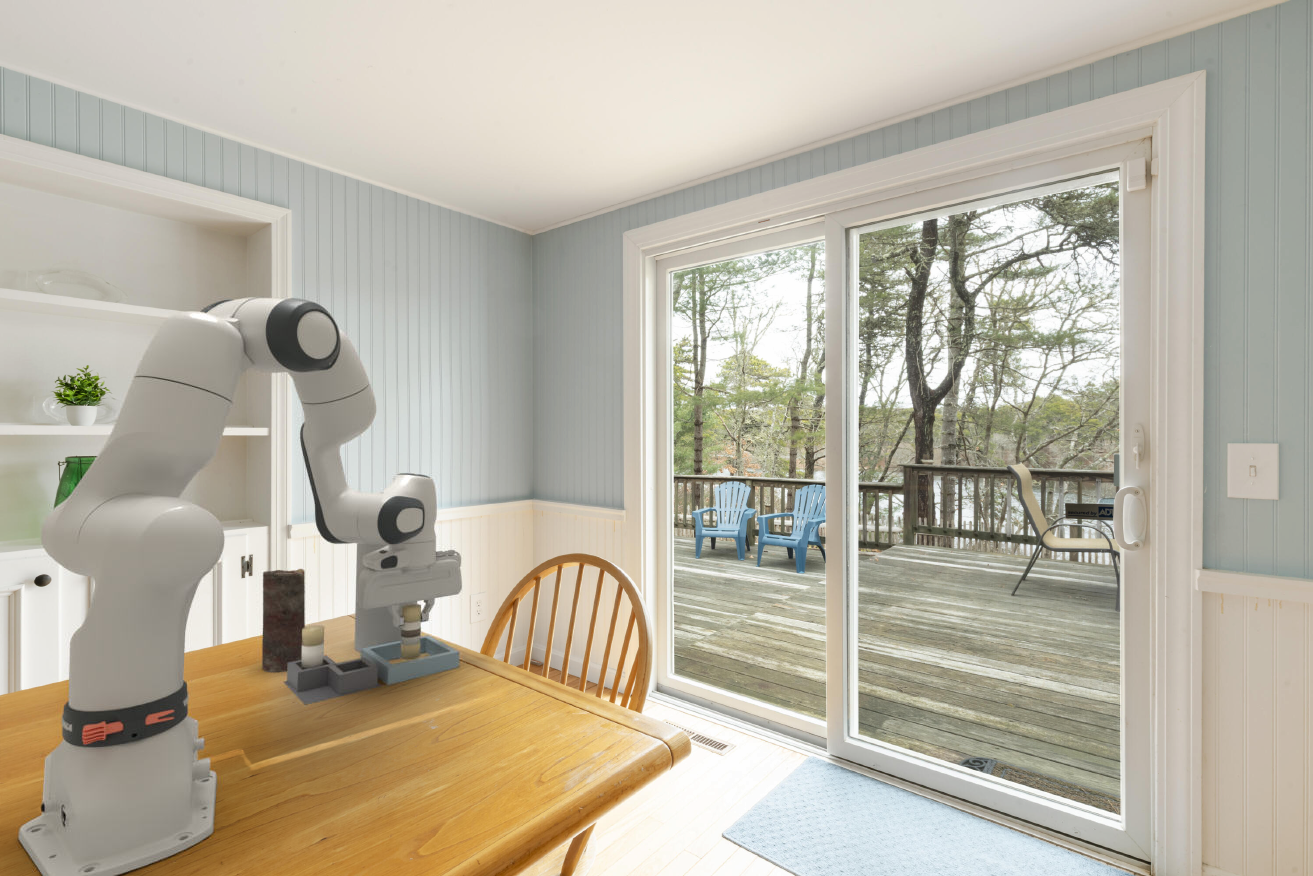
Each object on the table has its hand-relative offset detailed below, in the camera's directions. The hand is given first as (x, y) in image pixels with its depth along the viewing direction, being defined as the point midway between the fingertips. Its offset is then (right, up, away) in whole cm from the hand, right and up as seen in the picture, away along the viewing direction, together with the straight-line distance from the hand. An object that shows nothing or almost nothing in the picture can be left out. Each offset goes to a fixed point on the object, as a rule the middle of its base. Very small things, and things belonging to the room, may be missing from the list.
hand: (411, 623), depth 128 cm
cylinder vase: (-10, -9, +12) cm, 19 cm away
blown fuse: (0, -7, 0) cm, 7 cm away
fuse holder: (-11, -9, -10) cm, 17 cm away
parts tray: (0, -9, 0) cm, 9 cm away
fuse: (-15, -8, -10) cm, 19 cm away
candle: (-25, -9, -2) cm, 26 cm away
